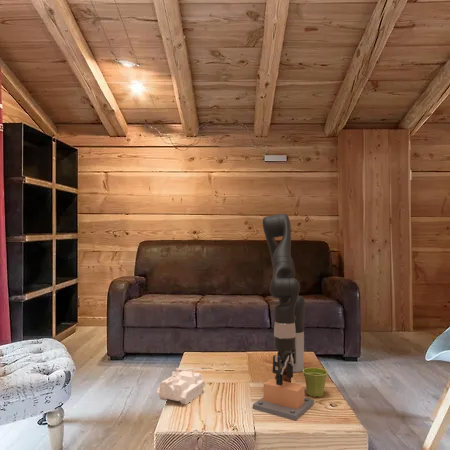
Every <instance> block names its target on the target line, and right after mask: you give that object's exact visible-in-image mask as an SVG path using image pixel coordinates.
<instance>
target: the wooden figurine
mask: <svg viewBox="0 0 450 450" xmlns="http://www.w3.org/2000/svg"><path fill="white" fill-rule="evenodd" d="M274 379H276V375H275V376H274ZM283 381H286V382H290V383H292V378H288V377H287V365H286V368H285V369H284V371H283Z"/></svg>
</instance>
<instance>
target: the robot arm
mask: <svg viewBox="0 0 450 450" xmlns="http://www.w3.org/2000/svg"><path fill="white" fill-rule="evenodd" d="M289 217H290V216H289V215H288V214H287V213H279V214H273V215H268V216H265V217H263V219H262V228H263V233H264V235H265V239H266V240H265V241H266V242H267V247H268V250H269V255H270V259H271V267H272V270H273V271H272V278H271V281H270V283H269V293H270V295H271V297H273V298H274V299H278V302H279V303H278V304H277V305H275V307H274V325H273V347H274V349H275V350H276V351H277V355H276V354H274V355H273V356H272V373H273V374H275V376H276V384H277V385H280V386H281V385H283V371H284V369H285V368H286V365H287V377H288V378H291V379H292V378H294V373H299V372H300V373H302V372H303V369H305V364H304V363H305V314H306V313H305V310H306V301H305V300H306V299H305V298H304V296H302V295H299V294H300V291H301V284H300V282H299V280H297V278H295V277H296V268H295V264H294V259H293V258H292V254H291V252H292V251H291V249H292V248H291V246H292V225H291V220H290V218H289ZM280 237H282V238H281V240H280V242H279V243H278V242H277V240H276V238H280Z"/></svg>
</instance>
